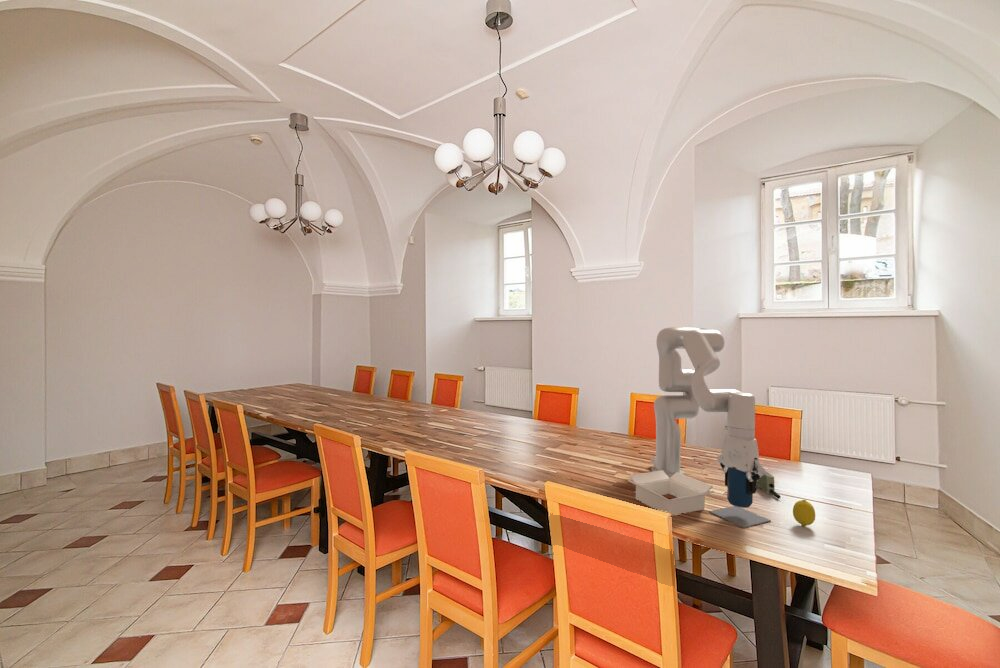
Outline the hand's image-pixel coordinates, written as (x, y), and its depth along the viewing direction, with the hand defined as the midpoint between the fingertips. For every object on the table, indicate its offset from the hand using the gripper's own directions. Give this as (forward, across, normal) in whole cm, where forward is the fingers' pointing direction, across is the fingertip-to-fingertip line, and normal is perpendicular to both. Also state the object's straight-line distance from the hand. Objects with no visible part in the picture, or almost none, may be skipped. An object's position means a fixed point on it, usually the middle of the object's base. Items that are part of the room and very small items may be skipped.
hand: (740, 488), depth 136 cm
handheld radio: (+9, -15, +32) cm, 37 cm away
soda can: (+5, 0, 0) cm, 5 cm away
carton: (+9, -16, -13) cm, 22 cm away
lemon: (+9, +12, +12) cm, 19 cm away
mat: (+9, 0, 0) cm, 9 cm away
